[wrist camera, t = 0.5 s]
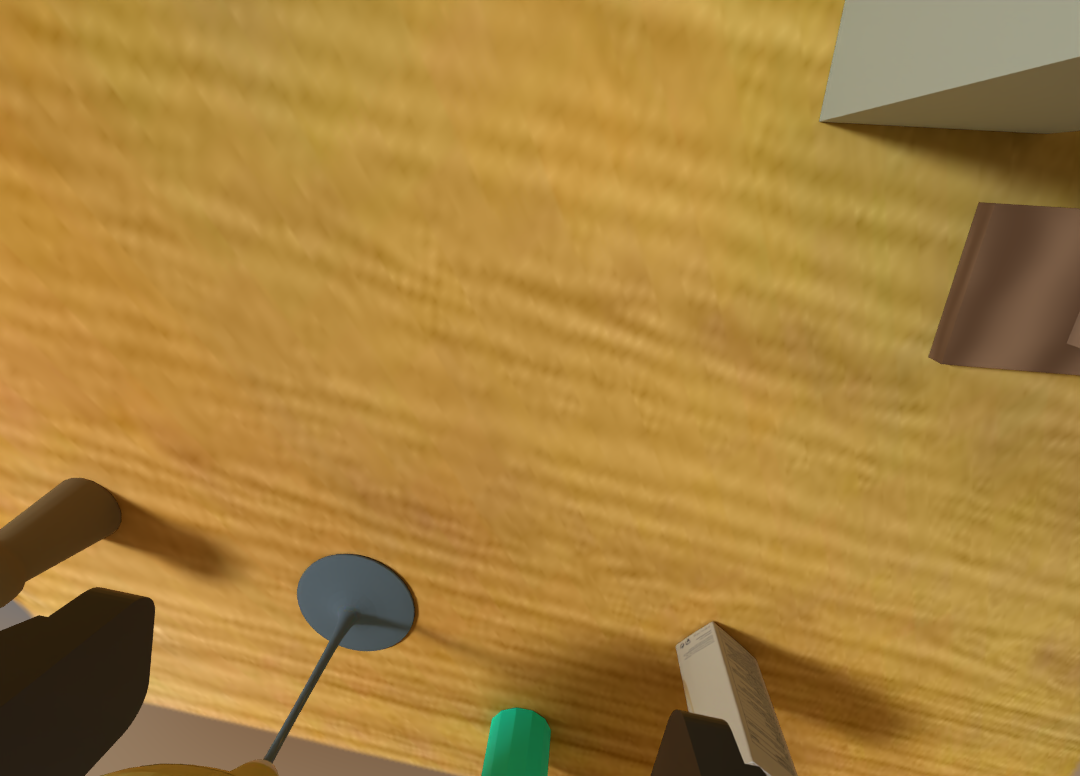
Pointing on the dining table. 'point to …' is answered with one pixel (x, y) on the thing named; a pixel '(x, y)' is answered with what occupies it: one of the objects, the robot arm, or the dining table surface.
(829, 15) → the dining table surface
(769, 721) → the skincare box
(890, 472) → the dining table surface
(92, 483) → the pepper mill
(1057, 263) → the walnut stand
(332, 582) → the cocktail glass
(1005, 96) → the pale grey-green block
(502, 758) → the candle
